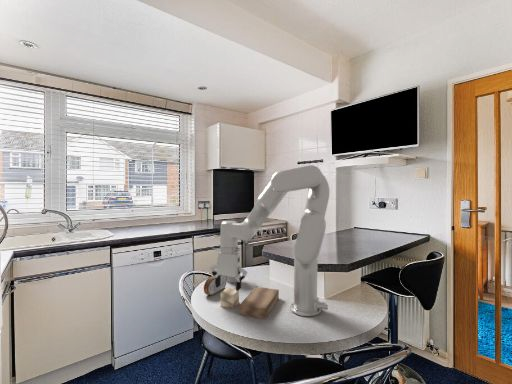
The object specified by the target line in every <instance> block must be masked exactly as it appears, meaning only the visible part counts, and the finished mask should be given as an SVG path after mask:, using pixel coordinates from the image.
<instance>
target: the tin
mask: <svg viewBox="0 0 512 384" xmlns="http://www.w3.org/2000/svg"><path fill="white" fill-rule="evenodd" d="M220 277H221V282H220V286H219V287H217V288H216V285H215V278H214V275H213V274H212V276H209V277H208V278H207V279H206V280H205V282H204V285H203V292H204V294H205V295H208V296H213V295H216V294H217V293H220V292H222V291H224V290H225V289H226V288H225V287H226V285H227V283H228V282H227V276H223V275H220Z"/></svg>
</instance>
